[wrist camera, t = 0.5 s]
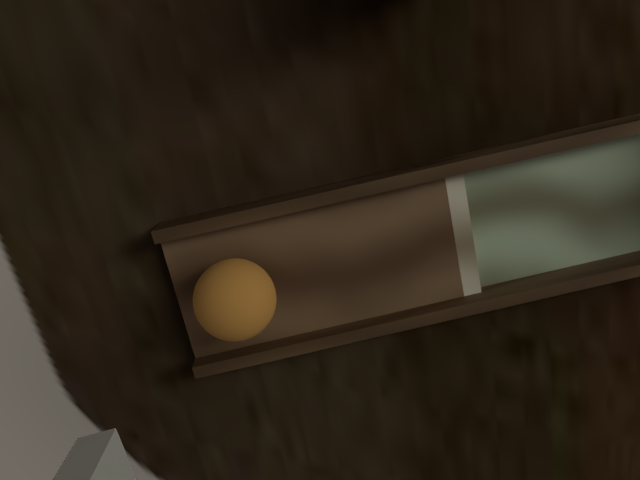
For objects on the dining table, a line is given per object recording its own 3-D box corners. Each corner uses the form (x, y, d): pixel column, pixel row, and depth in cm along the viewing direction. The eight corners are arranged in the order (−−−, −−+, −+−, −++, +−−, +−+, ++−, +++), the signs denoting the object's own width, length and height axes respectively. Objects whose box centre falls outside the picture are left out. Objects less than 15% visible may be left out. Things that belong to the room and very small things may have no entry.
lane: (159, 222, 36) (140, 241, 31) (699, 99, 37) (763, 99, 32) (200, 360, 39) (189, 398, 34) (706, 244, 39) (765, 264, 34)
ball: (190, 258, 36) (175, 283, 31) (266, 241, 36) (264, 263, 31) (210, 329, 37) (199, 364, 32) (284, 313, 37) (285, 344, 32)
